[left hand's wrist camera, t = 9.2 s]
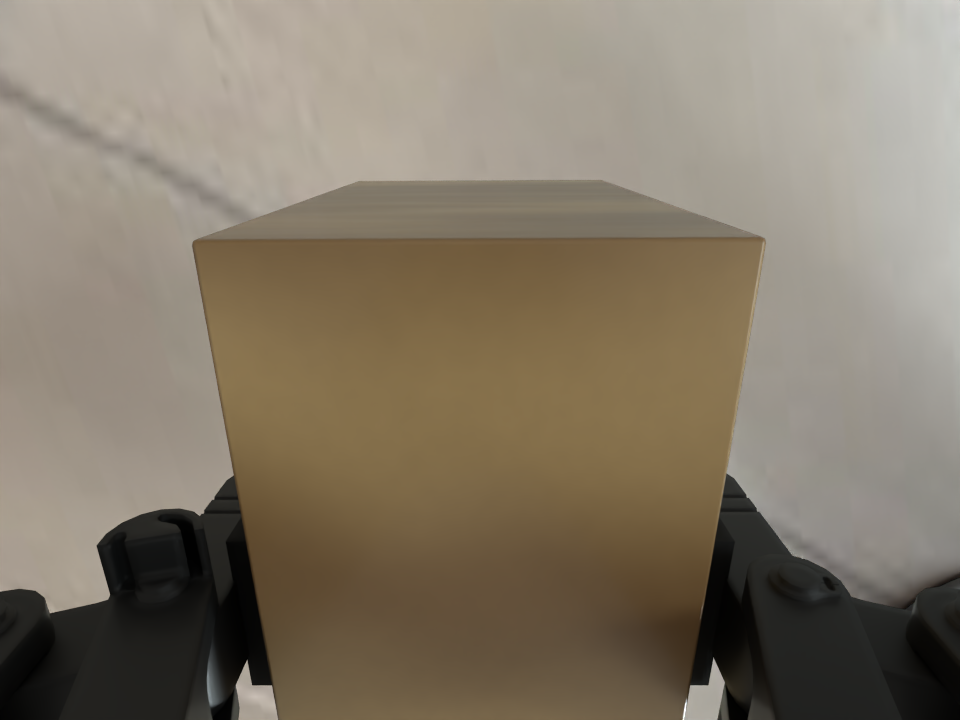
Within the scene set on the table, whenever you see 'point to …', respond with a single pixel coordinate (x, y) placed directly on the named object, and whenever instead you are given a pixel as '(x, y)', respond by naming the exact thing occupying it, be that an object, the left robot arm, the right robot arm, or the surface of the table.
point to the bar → (480, 442)
